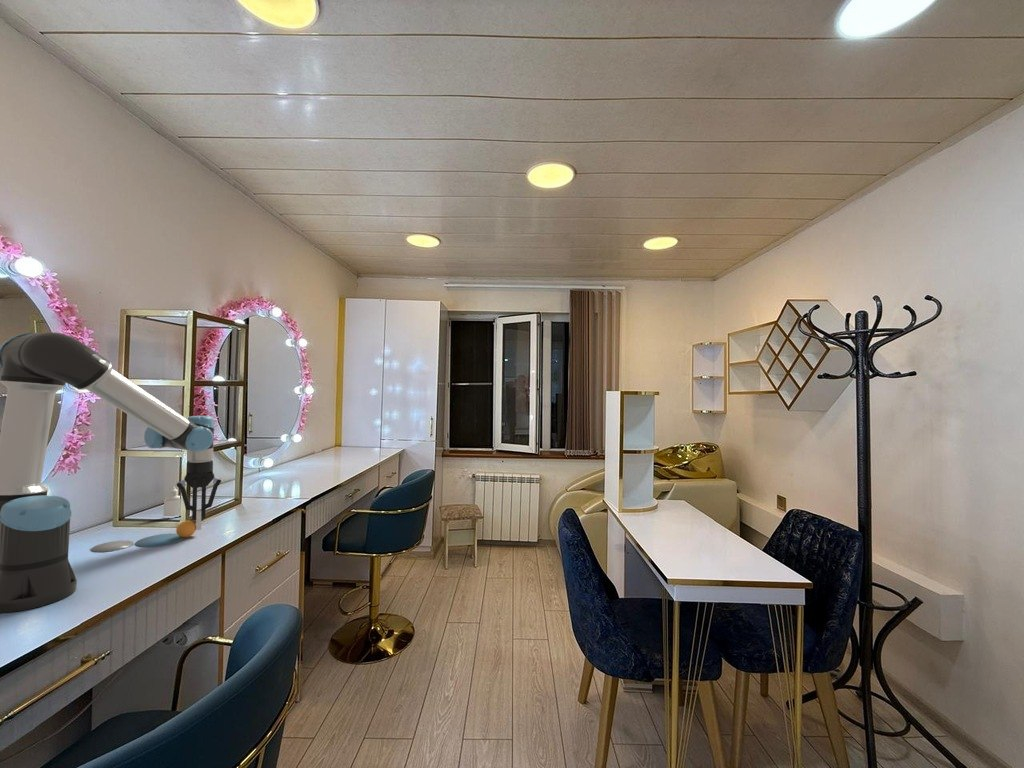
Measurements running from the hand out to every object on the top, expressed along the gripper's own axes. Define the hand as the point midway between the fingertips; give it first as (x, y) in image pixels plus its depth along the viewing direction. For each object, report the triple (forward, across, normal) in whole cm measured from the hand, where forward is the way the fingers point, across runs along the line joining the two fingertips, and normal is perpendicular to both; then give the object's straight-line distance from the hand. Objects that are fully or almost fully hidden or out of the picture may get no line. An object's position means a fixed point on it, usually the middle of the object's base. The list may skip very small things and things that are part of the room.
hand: (198, 528), depth 155 cm
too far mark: (+2, +22, 0) cm, 22 cm away
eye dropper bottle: (+3, +8, -29) cm, 30 cm away
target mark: (+2, +10, 0) cm, 10 cm away
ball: (0, +3, 0) cm, 3 cm away
